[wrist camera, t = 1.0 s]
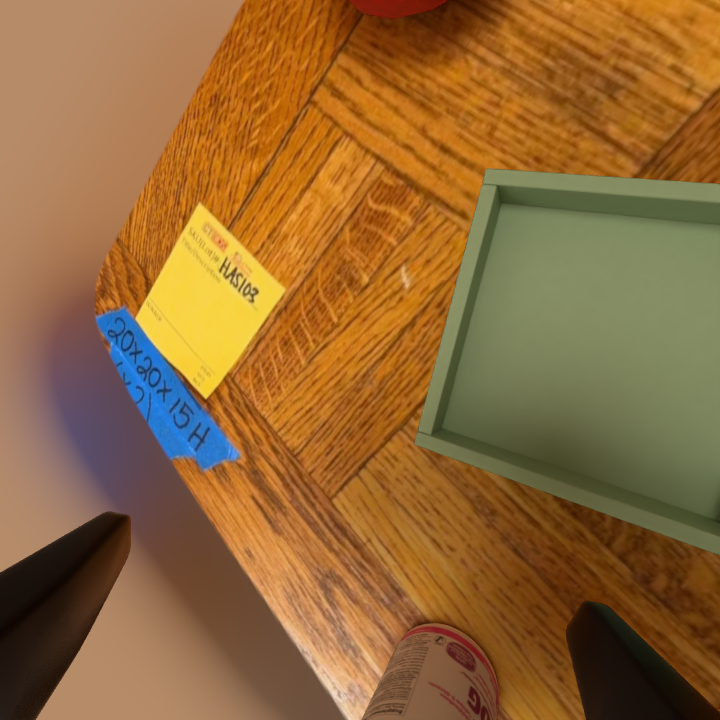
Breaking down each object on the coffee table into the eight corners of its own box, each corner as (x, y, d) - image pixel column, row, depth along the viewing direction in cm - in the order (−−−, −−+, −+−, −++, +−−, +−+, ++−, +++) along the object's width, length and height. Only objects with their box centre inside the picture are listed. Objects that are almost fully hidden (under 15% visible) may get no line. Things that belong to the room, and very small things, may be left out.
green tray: (725, 536, 14) (761, 571, 12) (428, 433, 19) (413, 444, 16) (839, 223, 13) (904, 195, 11) (492, 192, 17) (485, 167, 15)
